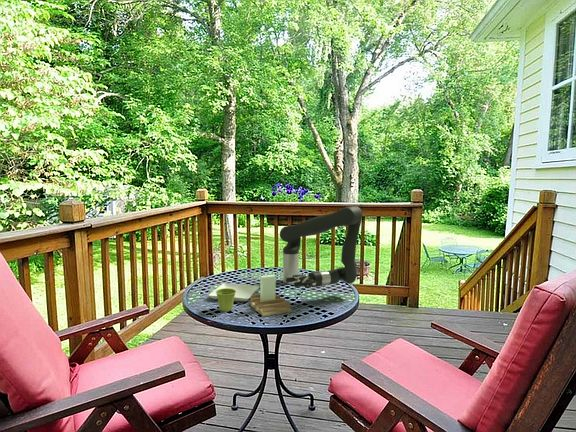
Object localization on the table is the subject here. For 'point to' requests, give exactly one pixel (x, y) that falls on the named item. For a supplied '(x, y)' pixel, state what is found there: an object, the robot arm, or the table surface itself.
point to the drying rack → (270, 305)
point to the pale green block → (267, 287)
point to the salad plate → (237, 291)
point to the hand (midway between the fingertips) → (290, 282)
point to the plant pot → (225, 298)
